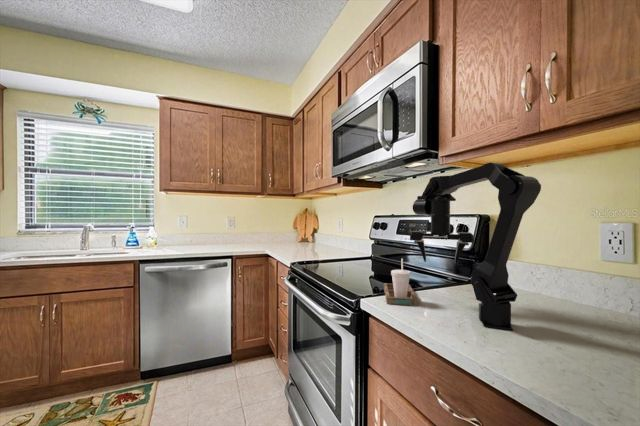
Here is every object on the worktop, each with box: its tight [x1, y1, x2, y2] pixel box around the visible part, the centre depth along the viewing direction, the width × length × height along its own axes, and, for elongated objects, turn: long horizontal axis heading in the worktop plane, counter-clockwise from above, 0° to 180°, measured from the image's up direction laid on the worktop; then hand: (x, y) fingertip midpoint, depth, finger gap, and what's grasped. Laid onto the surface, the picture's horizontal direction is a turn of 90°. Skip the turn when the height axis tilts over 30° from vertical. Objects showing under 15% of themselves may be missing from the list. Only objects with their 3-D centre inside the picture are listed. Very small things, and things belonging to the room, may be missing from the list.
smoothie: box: [390, 257, 411, 298], centre depth 93 cm, size 6×6×14 cm
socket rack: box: [383, 282, 419, 307], centre depth 98 cm, size 18×10×2 cm, turn 170°
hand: (440, 262), depth 91 cm, fingers open, 9 cm apart
